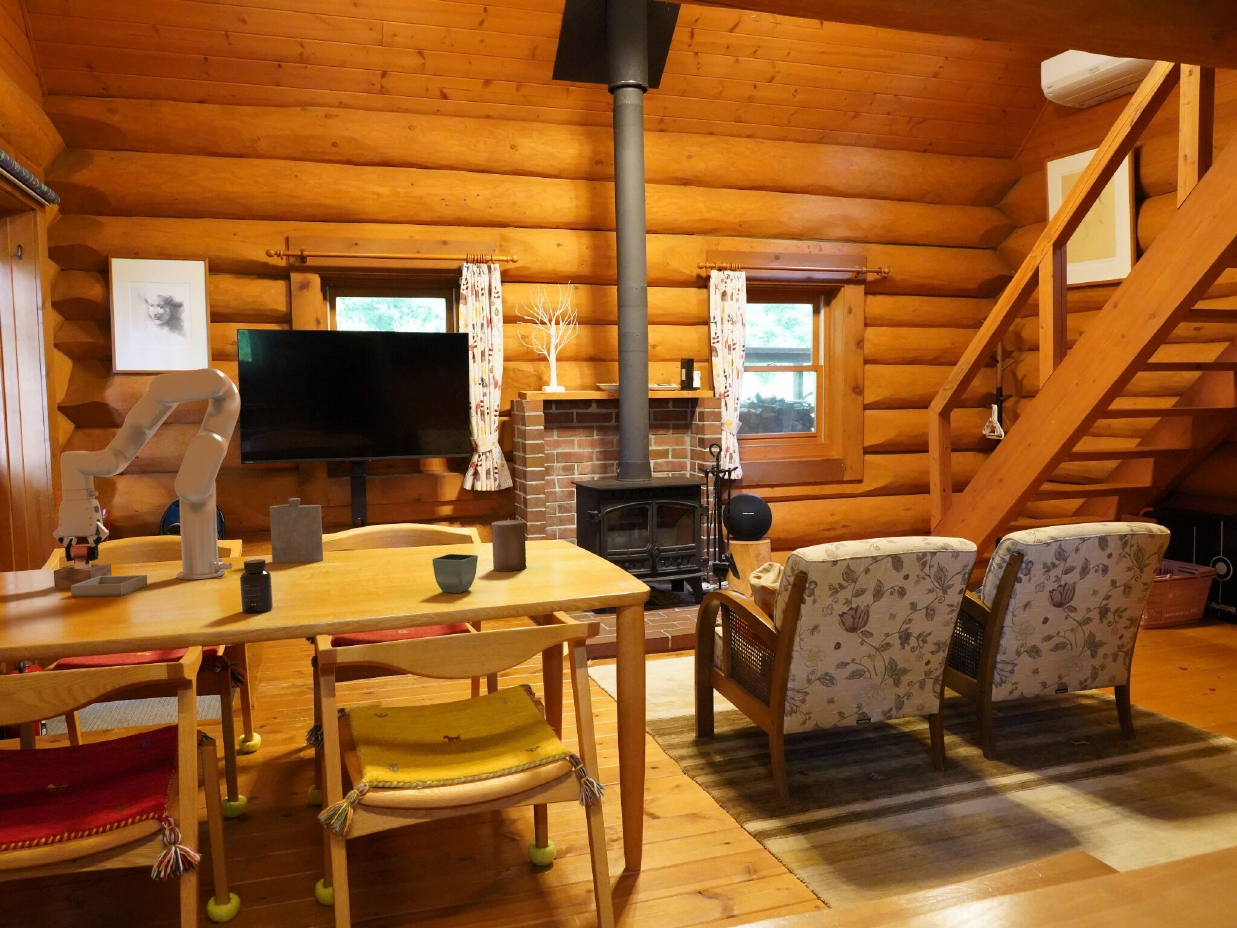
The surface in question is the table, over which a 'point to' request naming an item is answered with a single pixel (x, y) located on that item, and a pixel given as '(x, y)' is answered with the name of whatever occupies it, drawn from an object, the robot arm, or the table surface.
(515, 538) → the pillar candle
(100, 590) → the tray
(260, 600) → the supplement bottle
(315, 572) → the table surface
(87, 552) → the pin
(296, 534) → the hip flask
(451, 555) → the flower pot
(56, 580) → the block
